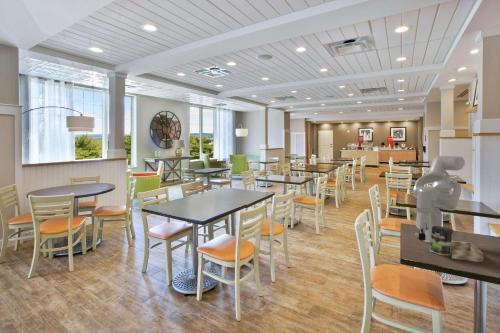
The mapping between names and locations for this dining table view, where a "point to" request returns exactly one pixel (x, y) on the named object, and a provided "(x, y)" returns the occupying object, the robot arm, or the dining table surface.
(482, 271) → the dining table surface
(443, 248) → the coffee can
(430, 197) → the robot arm
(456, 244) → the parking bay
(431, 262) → the dining table surface
